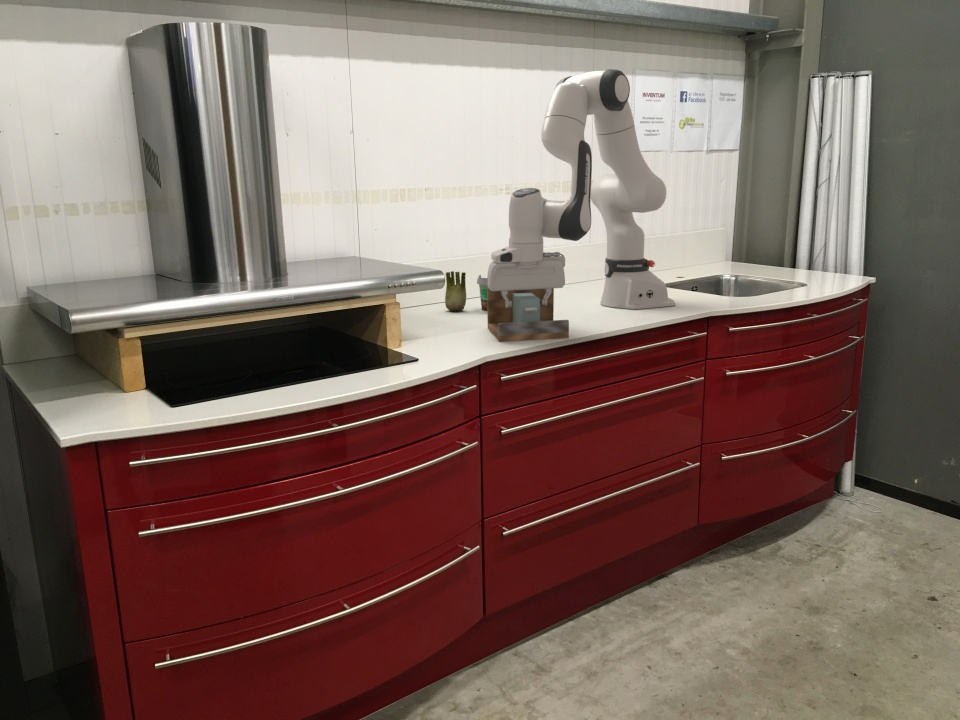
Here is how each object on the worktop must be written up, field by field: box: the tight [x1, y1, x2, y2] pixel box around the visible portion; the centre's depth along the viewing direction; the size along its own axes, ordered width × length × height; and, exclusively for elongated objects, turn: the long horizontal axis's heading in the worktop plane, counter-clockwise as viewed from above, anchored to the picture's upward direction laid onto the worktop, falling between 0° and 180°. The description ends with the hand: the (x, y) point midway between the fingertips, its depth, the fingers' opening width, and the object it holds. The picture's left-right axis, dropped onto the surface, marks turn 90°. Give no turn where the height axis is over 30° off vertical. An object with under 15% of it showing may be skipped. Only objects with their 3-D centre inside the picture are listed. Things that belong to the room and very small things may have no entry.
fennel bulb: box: [444, 270, 467, 312], centre depth 236 cm, size 6×5×12 cm
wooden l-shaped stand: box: [486, 286, 570, 343], centre depth 206 cm, size 18×16×12 cm
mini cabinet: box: [512, 292, 540, 322], centre depth 207 cm, size 5×11×8 cm, turn 10°
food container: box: [476, 274, 487, 312], centre depth 236 cm, size 12×6×10 cm, turn 62°
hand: (526, 306), depth 207 cm, fingers open, 8 cm apart
